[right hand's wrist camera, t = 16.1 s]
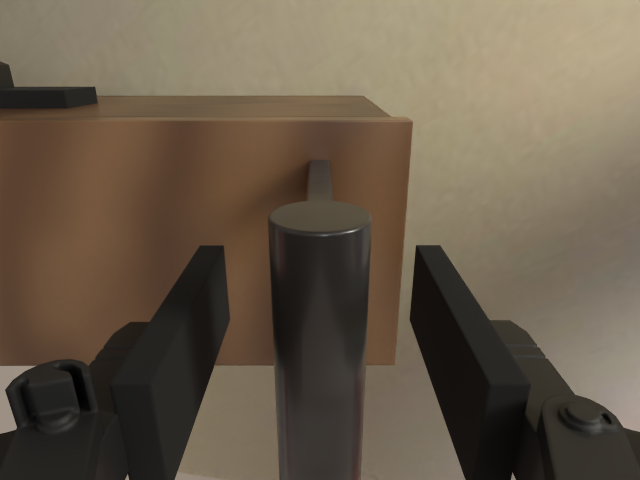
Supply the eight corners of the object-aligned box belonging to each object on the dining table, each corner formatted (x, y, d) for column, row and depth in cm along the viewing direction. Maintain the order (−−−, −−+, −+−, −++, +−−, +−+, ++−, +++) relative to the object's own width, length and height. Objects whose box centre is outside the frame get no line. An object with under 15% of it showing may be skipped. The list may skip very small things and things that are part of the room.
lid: (407, 116, 16) (496, 171, 8) (391, 349, 19) (440, 548, 11) (-64, 117, 16) (-454, 172, 8) (7, 350, 19) (-209, 550, 11)
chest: (364, 95, 26) (393, 116, 16) (358, 251, 29) (379, 349, 19) (85, 95, 26) (-64, 116, 16) (114, 252, 29) (8, 349, 19)
